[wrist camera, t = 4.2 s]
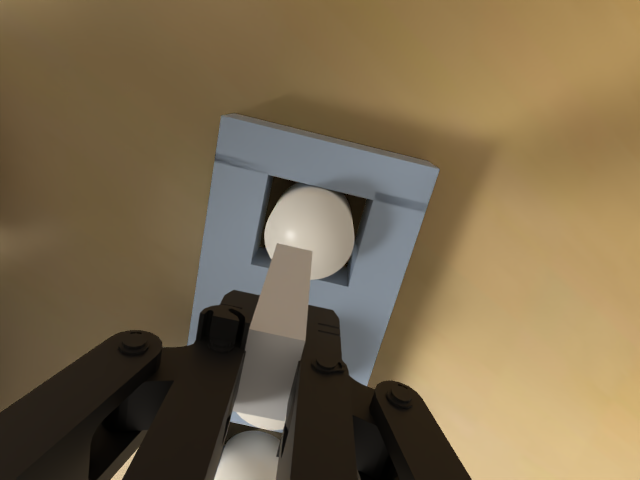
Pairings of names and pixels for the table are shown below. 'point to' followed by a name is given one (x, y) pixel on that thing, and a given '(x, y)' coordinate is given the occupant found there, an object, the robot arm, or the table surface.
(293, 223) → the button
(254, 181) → the button board
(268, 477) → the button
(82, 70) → the table surface
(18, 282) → the table surface
